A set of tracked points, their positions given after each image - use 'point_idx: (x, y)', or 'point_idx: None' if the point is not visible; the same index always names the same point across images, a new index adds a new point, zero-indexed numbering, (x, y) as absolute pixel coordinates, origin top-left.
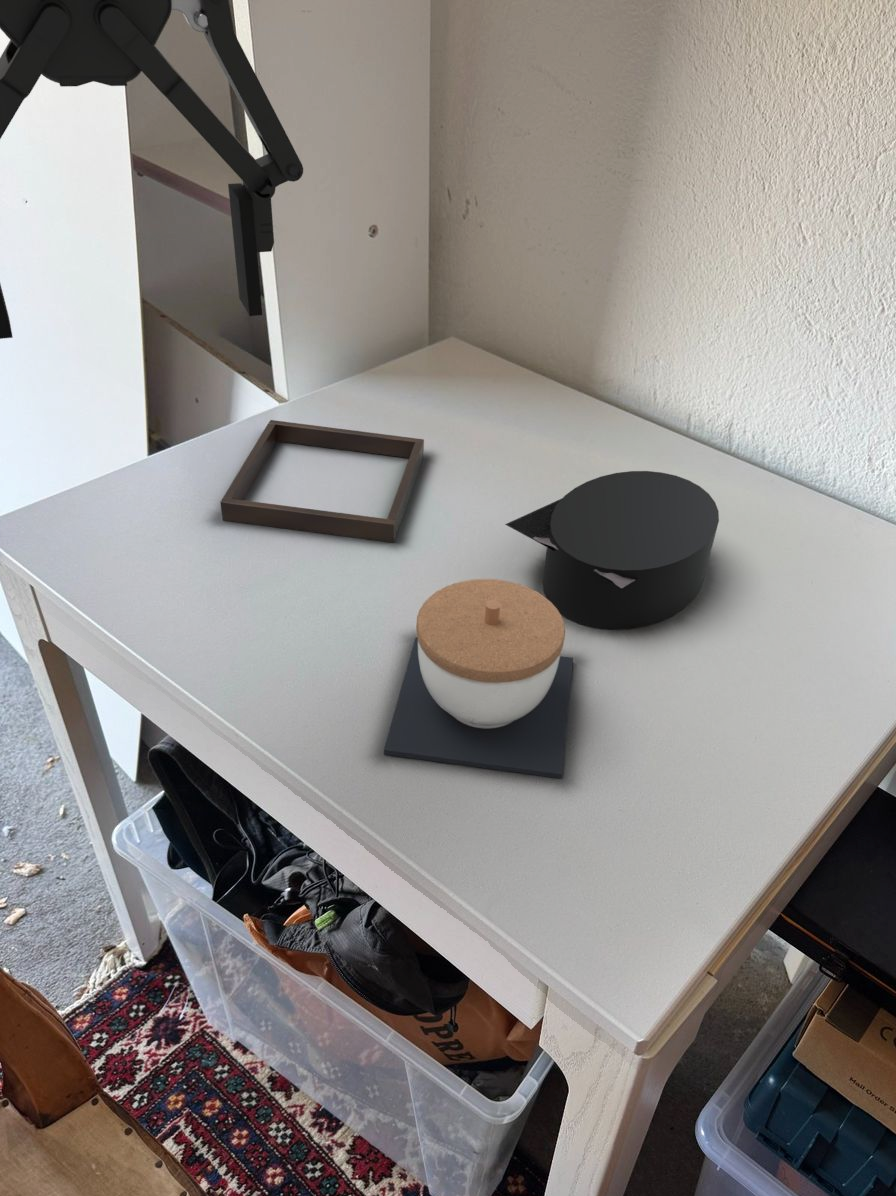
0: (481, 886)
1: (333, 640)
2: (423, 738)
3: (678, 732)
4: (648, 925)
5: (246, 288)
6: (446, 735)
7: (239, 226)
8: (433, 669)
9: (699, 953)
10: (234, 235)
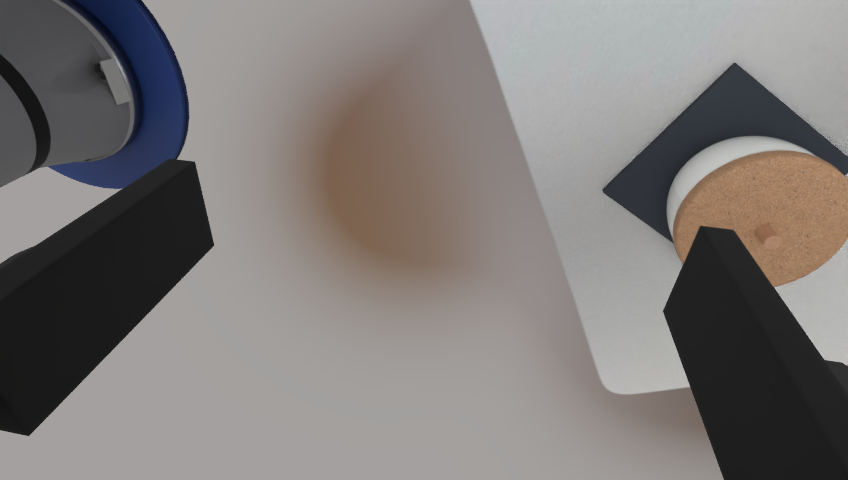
0: (591, 307)
1: (653, 21)
2: (640, 195)
3: (844, 273)
4: (661, 365)
5: (681, 348)
6: (660, 201)
7: (739, 471)
8: (671, 227)
9: (671, 387)
10: (758, 356)
